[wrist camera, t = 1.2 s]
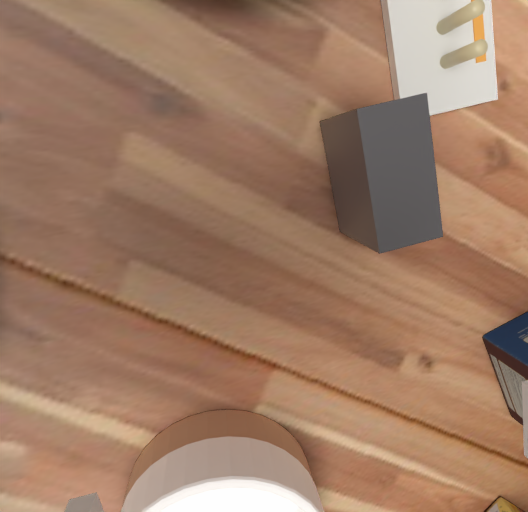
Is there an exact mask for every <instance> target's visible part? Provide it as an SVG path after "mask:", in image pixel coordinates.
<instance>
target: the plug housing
mask: <svg viewBox="0 0 528 512" xmlns="http://www.w3.org/2000/svg"><path fill="white" fill-rule="evenodd" d="M320 126H321V131H322V137H323V142H324V147H325V153H326V158H327V164H328V169H329V175H330V180H331V186H332V191H333V197H334V202H335V208H336V213H337V219H338V224H339V230H340V232H341V233H343V234H345V235H347V236H349V237H350V238H352V239H354V240H356V241H358V242H360V243H361V244H363V245H365V246H367V247H369V248H370V249H372V250H374V251H376V252H378V253H384V252H387V251H391V250H395V249H399V248H402V247H406V246H410V245H414V244H417V243H421V242H425V241H429V240H432V239H436V238H440V237H443V231H442V222H441V213H440V204H439V195H438V187H437V178H436V169H435V160H434V151H433V142H432V133H431V124H430V115H429V106H428V97H427V93H423V94H418V95H414V96H410V97H406V98H402V99H397V100H393V101H389V102H385V103H380V104H376V105H372V106H368V107H363V108H359V109H355V110H352V111H350V112H347V113H344V114H341V115H338V116H335V117H332V118H329V119H326V120H323V121H320Z"/></svg>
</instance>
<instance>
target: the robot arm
mask: <svg viewBox="0 0 528 512" xmlns="http://www.w3.org/2000/svg"><path fill="white" fill-rule="evenodd" d="M522 403H523V435H524V455H525V456H526V457H527V458H528V380H527V381H523V382H522ZM64 512H104V511H103V508H102V505H101V503H100V500H99V497H98V494H97V492H96V493H92V494H88V495H85V496H81V497H77V498H73V499H69V502H68V504H67V507H66V509H65V511H64Z"/></svg>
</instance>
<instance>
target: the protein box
mask: <svg viewBox="0 0 528 512" xmlns="http://www.w3.org/2000/svg"><path fill="white" fill-rule="evenodd" d="M483 340H484V343H485V346H486V349H487V351H488V354H489V356H490V359H491V362H492V365H493V367H494V370H495V373H496V376H497V378H498V381H499V383H500V386H501V389H502V392H503V395H504V397H505V400H506V403H507V405H508V408H509V410H510V413H511V416H512V417H513V418H514V419H515V420H516V421H518V422H519V423H520V424H522V425H523V403H522V382H523V381H527V380H528V312H526V313H525V314H523V315H521V316H519V317H517V318H515V319H513V320H511V321H509V322H507V323H506V324H504V325H502V326H500V327H498V328H496V329H494V330H493V331H490V332H489V333H487V334H485V335H484V336H483Z"/></svg>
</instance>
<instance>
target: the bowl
mask: <svg viewBox="0 0 528 512" xmlns="http://www.w3.org/2000/svg"><path fill="white" fill-rule="evenodd" d="M121 512H324V509H323V506H322V503H321V500H320V497H319V494H318V491H317V488H316V486H315V483H314V480H313V477H312V474H311V471H310V468H309V465H308V462H307V459H306V456H305V454H304V452H303V450H302V448H301V446H300V444H299V443H298V442H297V441H296V439H295V438H294V437H293V436H292V435H291V433H290V432H289V431H287V430H286V429H285V428H283V427H282V426H281V425H279V424H278V423H277V422H275V421H273V420H271V419H269V418H267V417H264V416H262V415H259V414H255V413H252V412H248V411H242V410H229V409H225V410H215V411H207V412H203V413H199V414H196V415H192V416H189V417H187V418H185V419H183V420H180V421H178V422H176V423H174V424H172V425H171V426H169V427H168V428H166V429H165V430H164V431H162V432H161V433H159V434H158V435H157V436H156V437H155V438H154V439H153V440H152V441H151V442H150V443H149V444H148V445H147V446H146V447H145V448H144V450H143V451H142V453H141V454H140V456H139V458H138V459H137V461H136V462H135V464H134V467H133V470H132V472H131V475H130V478H129V482H128V486H127V490H126V494H125V498H124V502H123V506H122V510H121Z"/></svg>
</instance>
